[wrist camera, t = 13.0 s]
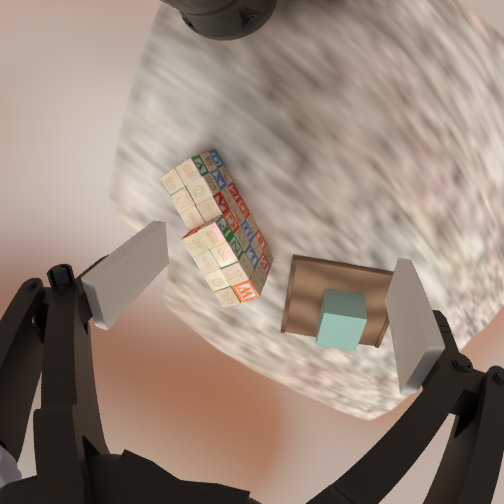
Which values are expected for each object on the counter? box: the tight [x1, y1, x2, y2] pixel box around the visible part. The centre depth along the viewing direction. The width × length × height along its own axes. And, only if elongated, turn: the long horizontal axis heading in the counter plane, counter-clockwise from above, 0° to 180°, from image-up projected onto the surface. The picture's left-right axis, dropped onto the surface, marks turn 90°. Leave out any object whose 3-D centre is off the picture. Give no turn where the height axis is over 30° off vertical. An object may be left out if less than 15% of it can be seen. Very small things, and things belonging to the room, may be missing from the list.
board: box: [281, 255, 394, 348], centre depth 52 cm, size 16×20×2 cm
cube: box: [316, 289, 367, 351], centre depth 48 cm, size 7×7×7 cm
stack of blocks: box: [160, 150, 273, 308], centre depth 45 cm, size 21×6×12 cm, turn 28°
